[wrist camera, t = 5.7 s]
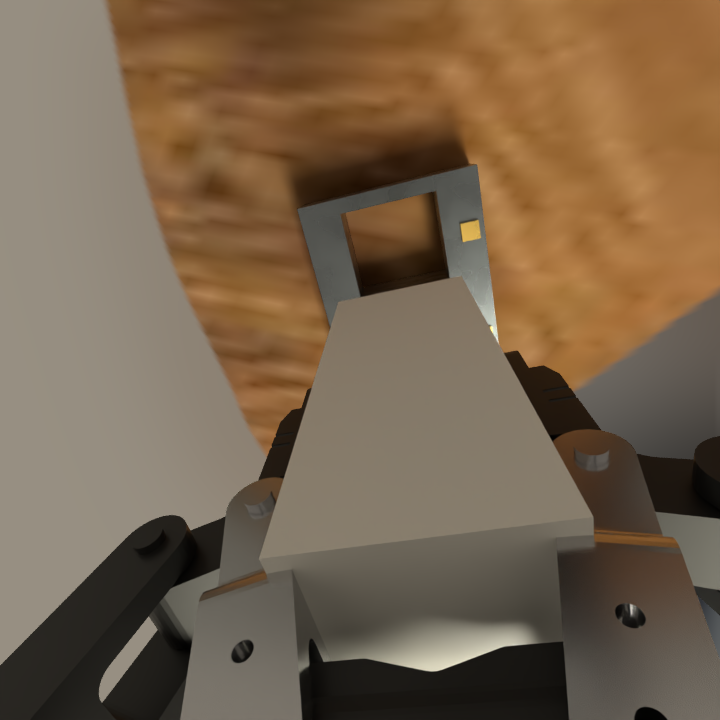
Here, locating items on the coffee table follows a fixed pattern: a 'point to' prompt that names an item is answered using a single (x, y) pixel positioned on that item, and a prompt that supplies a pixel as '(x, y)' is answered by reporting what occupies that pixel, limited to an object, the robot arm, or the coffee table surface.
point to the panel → (456, 228)
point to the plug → (423, 489)
